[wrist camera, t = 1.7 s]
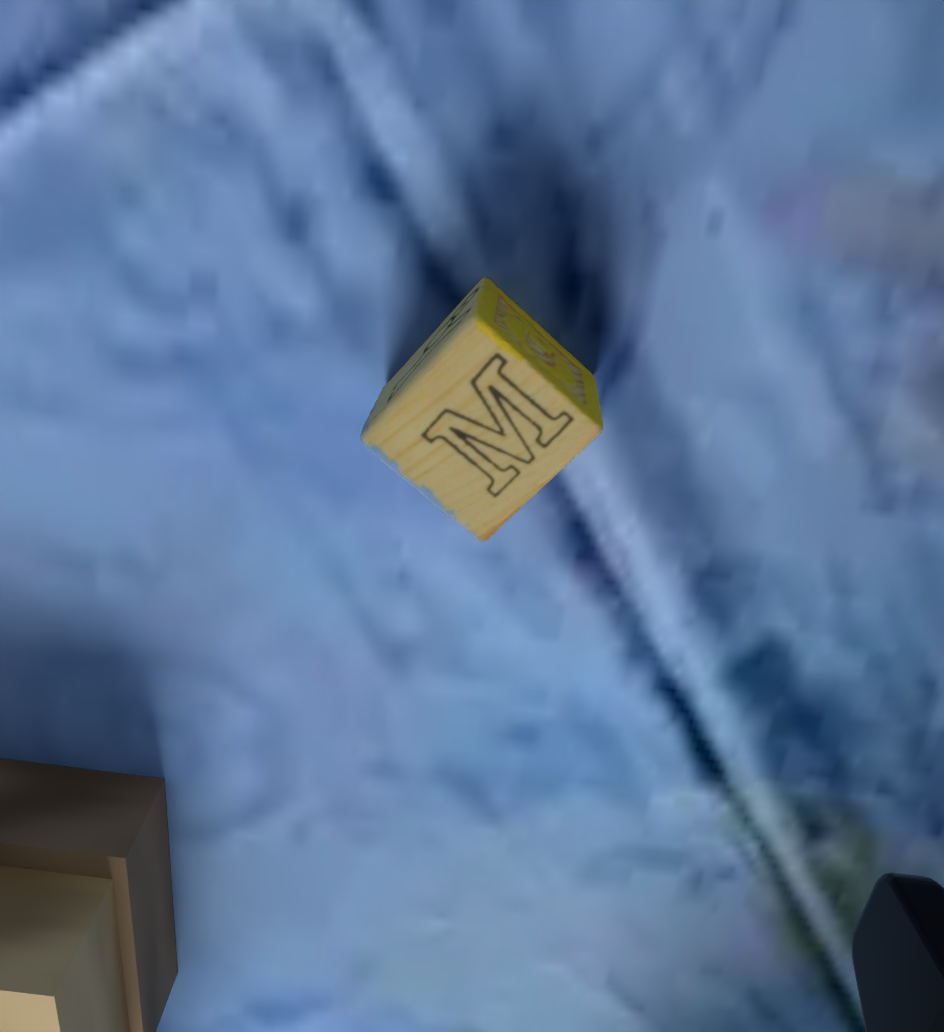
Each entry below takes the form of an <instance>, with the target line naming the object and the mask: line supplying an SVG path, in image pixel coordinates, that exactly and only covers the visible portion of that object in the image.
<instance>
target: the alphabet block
mask: <svg viewBox="0 0 944 1032" xmlns="http://www.w3.org/2000/svg"><path fill="white" fill-rule="evenodd" d="M602 430H603V421H602V415H601V409H600V403H599V399H598V392H597V387H596V381H595V377H594V376H593V375H592V373H591V372H590V371H589V370H588V369H587V368H586V367H585V366H583V365H582V364H581V363H580V362H579V361H578V360H577V359H576V358H575V357H574V356H573V355H572V354H571V353H569V352H568V351H567V350H566V349H565V348H564V347H563V346H561V345H560V344H559V343H558V342H557V341H556V340H555V339H554V338H553V337H552V336H551V335H550V334H549V333H547V332H546V331H545V330H544V329H543V328H542V327H541V326H540V325H539V324H538V323H537V322H536V321H535V320H533V319H532V318H531V317H530V316H529V315H528V314H527V313H526V312H525V311H524V310H523V309H522V308H520V307H519V306H518V305H517V304H516V303H515V302H514V301H513V300H512V299H510V298H509V297H508V296H507V295H506V294H505V293H504V292H503V291H502V290H501V289H500V288H498V287H497V286H496V285H495V284H494V283H493V282H492V281H491V280H490V279H488V278H486V277H483V278H482V279H481V280H480V281H479V282H478V283H477V284H476V285H475V286H474V287H473V289H472V290H471V291H470V292H469V293H468V294H467V295H466V296H465V297H464V299H463V300H462V301H461V302H460V303H459V304H458V306H457V307H456V308H455V309H454V310H453V311H452V312H451V313H450V314H449V315H448V316H447V318H446V319H445V320H444V321H443V322H442V323H441V325H440V326H439V327H438V328H437V329H436V330H435V331H434V332H433V334H432V335H431V336H430V337H429V338H428V339H427V340H426V341H425V342H424V344H423V345H422V346H421V347H420V348H419V349H418V350H417V351H416V352H415V353H414V354H413V356H412V357H411V358H410V359H409V360H408V361H407V362H406V363H405V364H404V366H403V367H402V368H401V369H400V370H399V371H398V372H397V373H396V374H395V375H394V377H393V378H392V379H391V380H390V381H389V382H388V383H387V384H386V385H385V386H384V387H383V389H382V391H381V393H380V395H379V397H378V400H377V401H376V403H375V405H374V407H373V409H372V410H371V412H370V415H369V416H368V418H367V420H366V422H365V424H364V426H363V429H362V432H361V435H360V438H361V441H362V443H363V444H364V445H365V446H366V447H367V448H368V450H369V451H370V452H371V453H373V454H374V455H375V456H377V457H378V458H379V459H380V460H381V461H383V462H384V463H385V464H386V465H387V466H388V467H390V468H391V469H392V470H394V471H395V472H396V473H397V474H398V475H400V476H401V477H402V478H403V479H405V480H406V481H407V482H408V483H409V484H411V485H412V486H413V487H414V488H416V489H417V490H418V491H419V492H420V493H421V494H422V495H423V496H425V497H426V498H428V499H429V500H430V501H431V502H432V503H433V504H435V505H436V506H437V507H438V508H439V509H441V510H442V512H444V513H445V514H447V515H448V516H449V517H450V518H451V519H453V520H454V521H455V522H457V523H458V524H459V525H460V526H462V527H463V528H464V529H465V530H466V531H467V532H468V533H469V534H470V535H471V536H472V537H474V538H475V539H476V540H477V541H479V542H484V541H486V540H488V539H489V538H490V537H491V536H492V535H493V534H494V533H495V532H496V531H497V530H498V529H499V528H500V527H501V526H502V525H503V524H504V523H505V522H506V521H507V520H508V519H509V518H510V517H511V516H512V515H513V514H515V513H516V512H517V511H518V510H519V509H520V508H521V507H522V506H523V505H524V504H525V503H526V502H527V501H529V500H530V499H531V498H532V497H533V496H534V495H535V494H536V493H537V492H538V491H539V490H540V489H541V488H542V487H543V486H545V485H546V484H547V483H548V482H549V481H550V480H551V479H552V478H553V477H554V476H555V475H556V474H557V473H558V472H559V471H561V470H562V469H563V468H564V467H565V466H566V465H567V464H568V463H569V462H570V461H571V460H572V459H573V458H574V457H575V456H576V455H577V454H578V453H580V452H581V451H582V450H583V449H584V448H585V447H586V446H587V445H588V444H589V443H590V442H591V441H592V440H594V439H595V438H596V437H597V436H598V435H599V434H600V433H601V431H602Z"/></svg>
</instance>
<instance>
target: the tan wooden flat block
mask: <svg viewBox="0 0 944 1032" xmlns="http://www.w3.org/2000/svg"><path fill="white" fill-rule="evenodd" d="M0 866H8V867H17V868H25V869H33V870H41V871H49V872H58V873H66V874H74V875H82V876H90V877H98V878H107V879H113V888H114V897H115V906H116V914H117V923H118V932H119V941H120V950H121V958H122V967H123V976H124V985H125V994H126V1002H127V1011H128V1020H129V1029H130V1032H156V1029H157V1026H158V1024H159V1021H160V1018H161V1016H162V1013H163V1010H164V1008H165V1005H166V1002H167V1000H168V997H169V994H170V992H171V989H172V986H173V984H174V981H175V978H176V976H177V973H178V967H177V953H176V938H175V923H174V909H173V894H172V880H171V865H170V850H169V836H168V821H167V806H166V792H165V779H161V778H153V777H145V776H137V775H129V774H121V773H113V772H106V771H98V770H90V769H82V768H74V767H66V766H58V765H50V764H42V763H34V762H27V761H19V760H11V759H3V758H0Z"/></svg>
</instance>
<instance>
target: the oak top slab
mask: <svg viewBox="0 0 944 1032" xmlns="http://www.w3.org/2000/svg"><path fill="white" fill-rule="evenodd" d="M0 1032H130V1029H129V1020H128V1011H127V1002H126V994H125V985H124V976H123V967H122V958H121V950H120V941H119V932H118V923H117V914H116V906H115V897H114V888H113V879H107V878H98V877H90V876H82V875H74V874H66V873H58V872H49V871H41V870H33V869H25V868H17V867H8V866H0Z"/></svg>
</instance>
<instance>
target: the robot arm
mask: <svg viewBox="0 0 944 1032" xmlns="http://www.w3.org/2000/svg"><path fill="white" fill-rule="evenodd" d="M852 958H853V964H854V970H855V975H856V980H857V986H858V991H859V997H860V1002H861V1007H862V1013H863V1018H864V1023H865V1029H866V1032H944V888H943V887H942V886H941V885H939V884H938V883H937V882H935V881H934V880H932V879H930V878H927V877H923V876H914V875H905V874H896V873H887V874H884V875H883V876H881V877H880V878H879V879H878V880H877V882H876V884H875V886H874V888H873V890H872V893H871V895H870V897H869V899H868V901H867V904H866V906H865V908H864V910H863V912H862V915H861V917H860V919H859V921H858V923H857V926H856V928H855V931H854V934H853V939H852Z"/></svg>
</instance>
